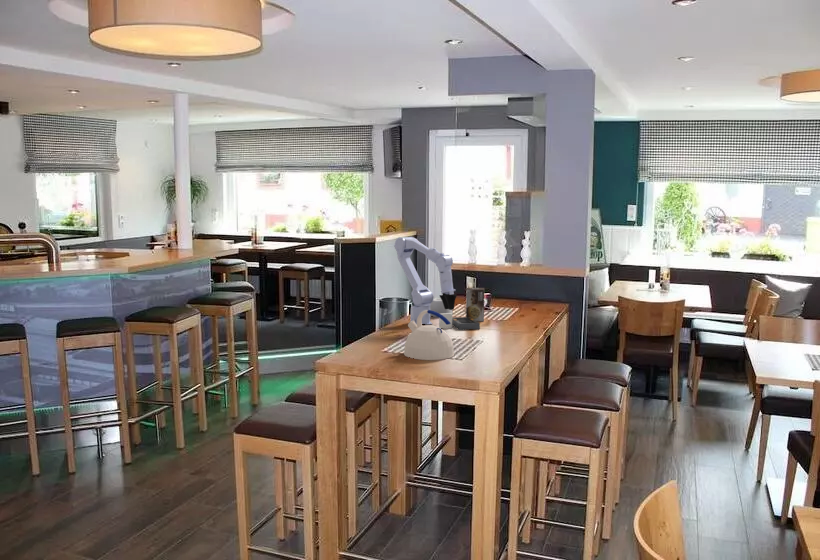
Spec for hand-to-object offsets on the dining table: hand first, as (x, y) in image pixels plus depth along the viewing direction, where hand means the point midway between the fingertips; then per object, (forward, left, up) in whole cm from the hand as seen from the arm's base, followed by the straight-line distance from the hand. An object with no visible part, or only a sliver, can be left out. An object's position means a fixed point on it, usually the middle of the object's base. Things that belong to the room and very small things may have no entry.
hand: (449, 309), depth 339 cm
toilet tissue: (+5, +32, -9) cm, 33 cm away
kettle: (-23, -51, -9) cm, 57 cm away
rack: (+8, +2, -9) cm, 12 cm away
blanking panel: (-2, 0, -9) cm, 9 cm away
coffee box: (+18, +17, -9) cm, 26 cm away
